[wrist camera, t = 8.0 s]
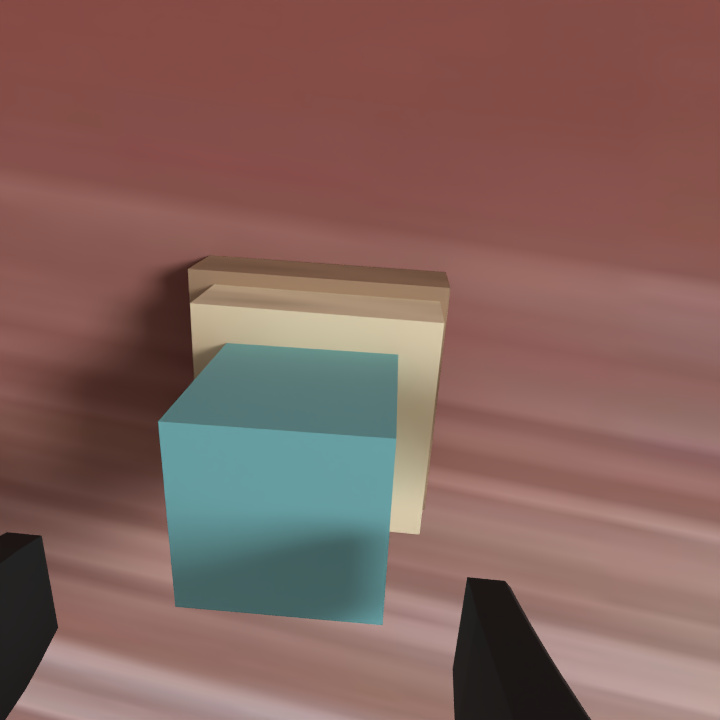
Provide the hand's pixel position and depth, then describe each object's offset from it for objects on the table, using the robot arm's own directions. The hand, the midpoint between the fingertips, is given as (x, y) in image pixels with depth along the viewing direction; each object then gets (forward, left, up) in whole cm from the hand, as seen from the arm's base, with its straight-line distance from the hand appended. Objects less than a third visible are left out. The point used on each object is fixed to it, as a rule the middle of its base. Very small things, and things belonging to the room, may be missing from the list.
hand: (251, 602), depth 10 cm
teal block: (0, 0, -6) cm, 6 cm away
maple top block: (0, 0, -8) cm, 9 cm away
